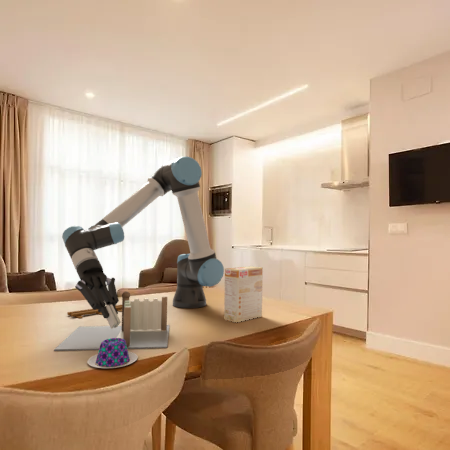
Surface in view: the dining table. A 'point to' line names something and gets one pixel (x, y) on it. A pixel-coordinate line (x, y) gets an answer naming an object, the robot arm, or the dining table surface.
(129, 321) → the panel
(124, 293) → the hinge post
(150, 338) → the card
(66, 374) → the dining table surface
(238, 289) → the coffeecake box
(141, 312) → the fixed panel
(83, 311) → the decorative fence
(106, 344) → the pudding
